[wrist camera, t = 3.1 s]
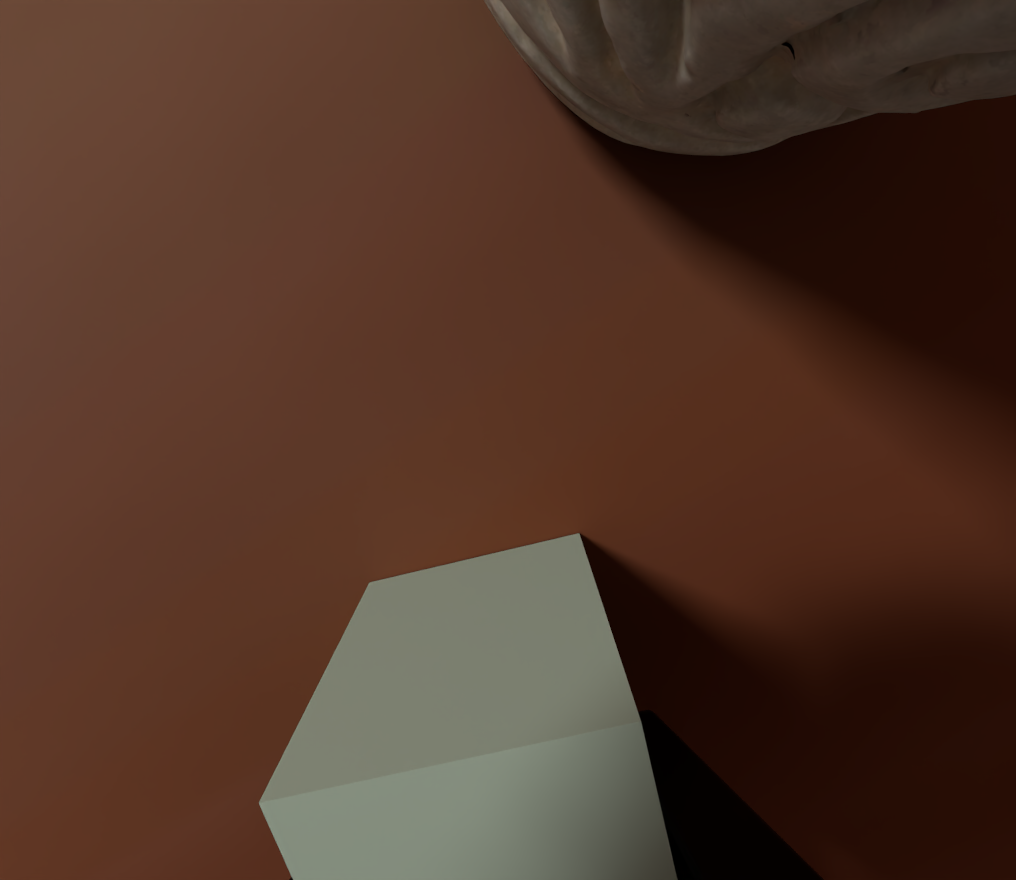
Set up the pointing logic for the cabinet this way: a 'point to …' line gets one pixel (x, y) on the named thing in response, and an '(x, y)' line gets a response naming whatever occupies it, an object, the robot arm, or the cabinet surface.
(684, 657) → the cabinet surface
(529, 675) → the sage brick
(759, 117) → the carving
